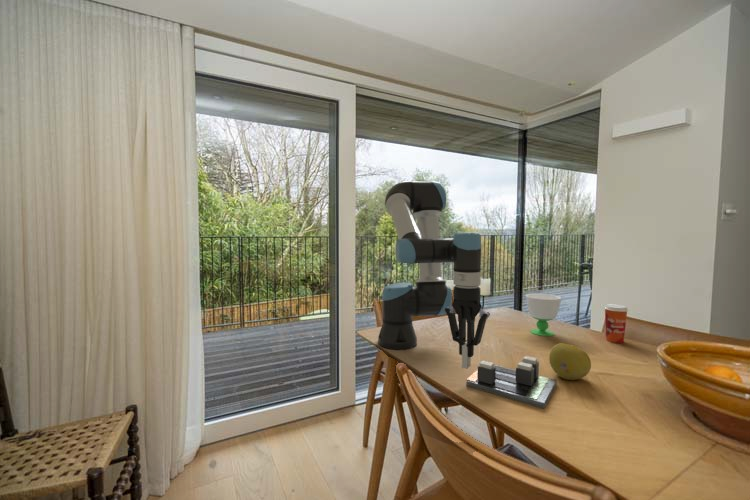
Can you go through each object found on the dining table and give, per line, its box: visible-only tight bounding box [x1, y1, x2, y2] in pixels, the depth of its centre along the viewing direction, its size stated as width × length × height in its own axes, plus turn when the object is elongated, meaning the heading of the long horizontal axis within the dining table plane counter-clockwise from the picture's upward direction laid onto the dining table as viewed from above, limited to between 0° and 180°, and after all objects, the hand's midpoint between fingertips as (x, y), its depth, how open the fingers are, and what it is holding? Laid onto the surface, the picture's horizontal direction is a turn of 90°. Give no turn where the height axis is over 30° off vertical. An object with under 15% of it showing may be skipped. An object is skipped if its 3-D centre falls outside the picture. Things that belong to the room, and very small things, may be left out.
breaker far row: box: [521, 355, 540, 379], centre depth 96 cm, size 4×3×5 cm
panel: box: [465, 364, 557, 410], centre depth 94 cm, size 20×16×2 cm
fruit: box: [548, 342, 592, 381], centre depth 99 cm, size 10×11×10 cm
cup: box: [525, 292, 562, 337], centre depth 142 cm, size 14×14×16 cm
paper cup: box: [604, 303, 629, 344], centre depth 131 cm, size 8×8×14 cm
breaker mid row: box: [515, 361, 534, 386], centre depth 92 cm, size 4×3×5 cm
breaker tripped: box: [477, 360, 496, 384], centre depth 93 cm, size 4×3×5 cm
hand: (466, 366), depth 97 cm, fingers closed
